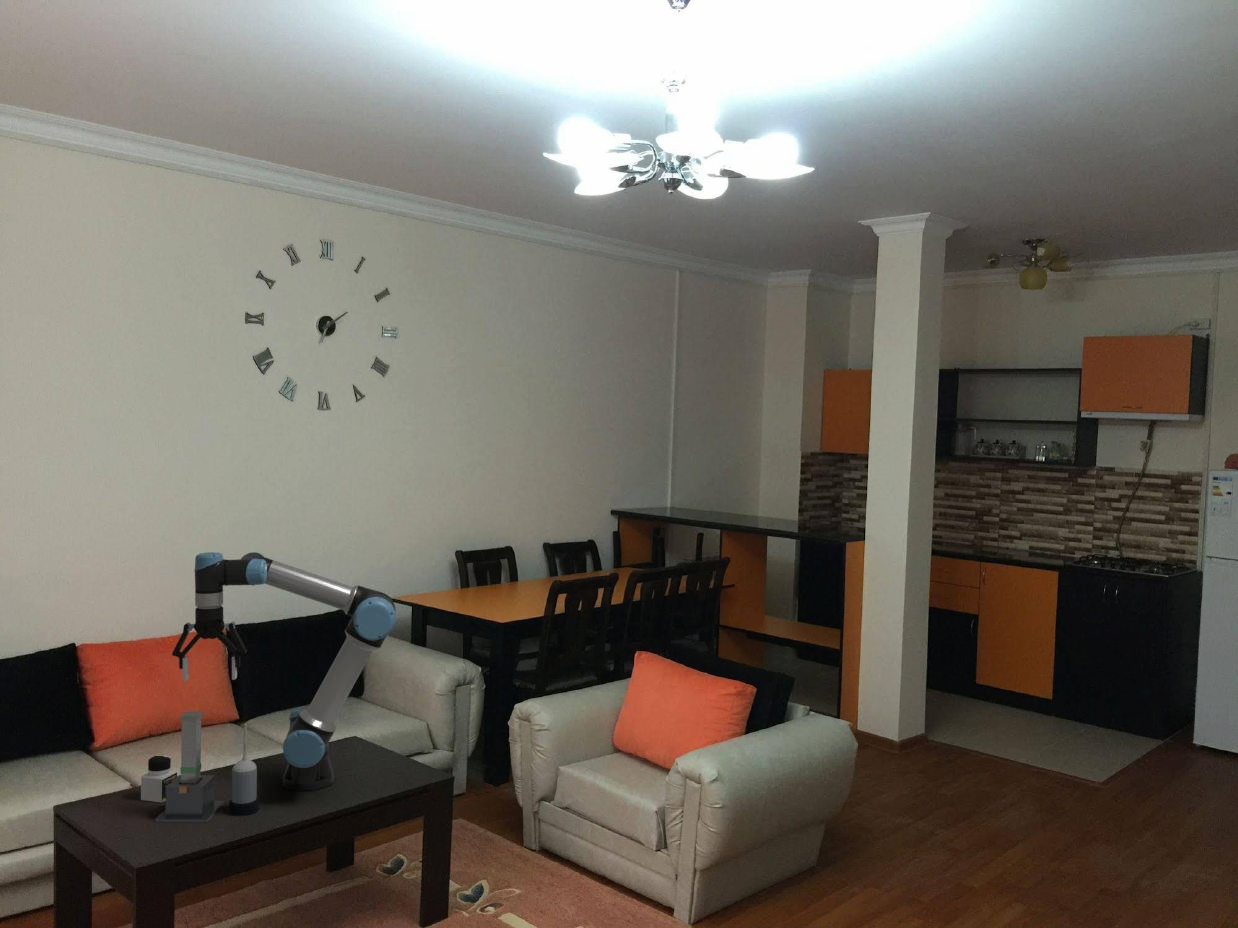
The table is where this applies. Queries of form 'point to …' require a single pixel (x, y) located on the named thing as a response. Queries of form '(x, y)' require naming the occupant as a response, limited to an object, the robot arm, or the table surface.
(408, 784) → the table surface
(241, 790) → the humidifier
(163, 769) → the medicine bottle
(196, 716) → the column
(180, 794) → the stand housing
